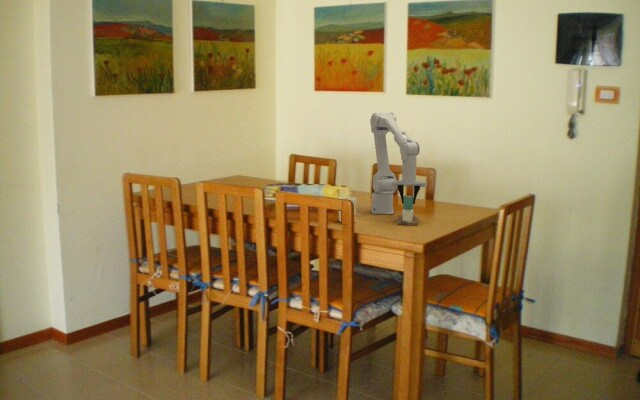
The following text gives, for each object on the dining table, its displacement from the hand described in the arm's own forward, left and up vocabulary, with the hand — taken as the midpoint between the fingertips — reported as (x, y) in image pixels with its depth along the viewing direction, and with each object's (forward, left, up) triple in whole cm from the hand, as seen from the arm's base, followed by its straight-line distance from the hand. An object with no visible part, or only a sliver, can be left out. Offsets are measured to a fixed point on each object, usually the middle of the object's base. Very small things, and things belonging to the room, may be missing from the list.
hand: (408, 203), depth 287 cm
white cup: (-25, -5, -8) cm, 27 cm away
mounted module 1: (0, -5, -6) cm, 8 cm away
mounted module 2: (0, +6, -6) cm, 8 cm away
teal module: (0, 0, -2) cm, 2 cm away
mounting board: (0, 0, -8) cm, 8 cm away
